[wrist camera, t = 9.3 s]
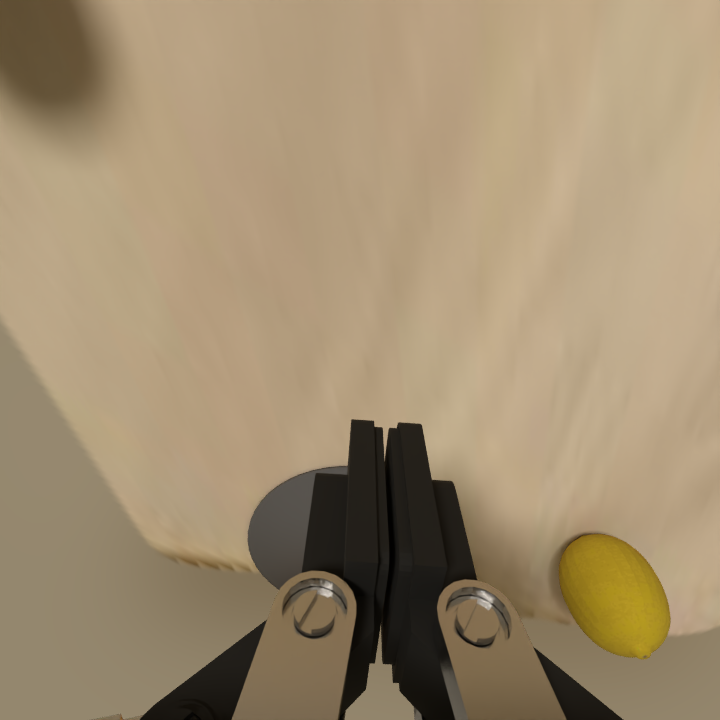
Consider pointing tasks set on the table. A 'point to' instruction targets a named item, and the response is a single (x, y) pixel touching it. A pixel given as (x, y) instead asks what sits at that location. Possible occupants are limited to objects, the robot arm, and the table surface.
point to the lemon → (614, 595)
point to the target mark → (284, 527)
